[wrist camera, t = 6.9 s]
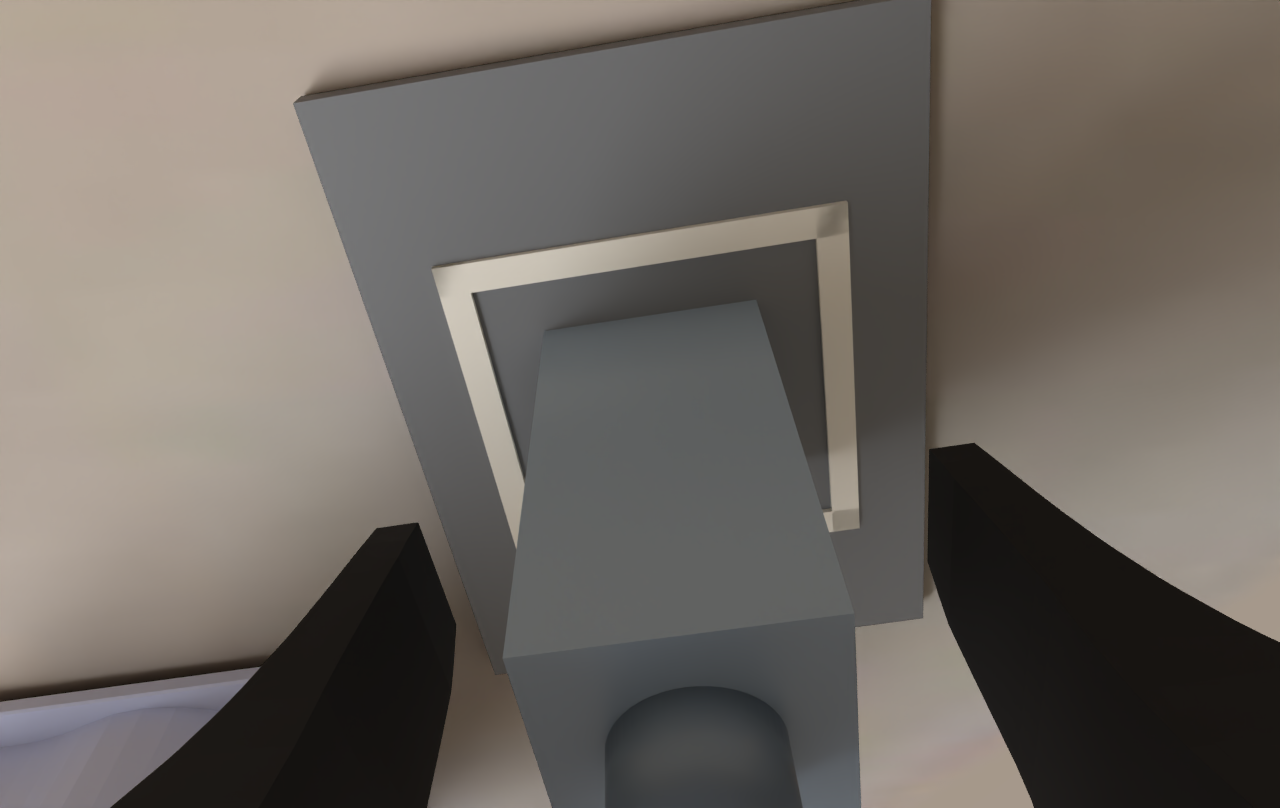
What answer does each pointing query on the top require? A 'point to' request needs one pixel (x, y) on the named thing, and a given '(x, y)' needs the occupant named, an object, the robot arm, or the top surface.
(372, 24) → the top surface
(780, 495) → the grey rectangular block
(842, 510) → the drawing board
